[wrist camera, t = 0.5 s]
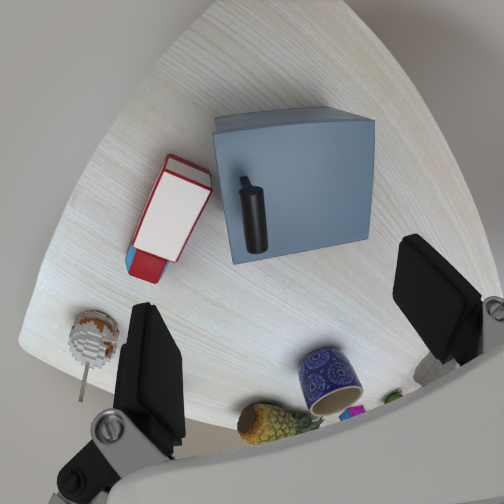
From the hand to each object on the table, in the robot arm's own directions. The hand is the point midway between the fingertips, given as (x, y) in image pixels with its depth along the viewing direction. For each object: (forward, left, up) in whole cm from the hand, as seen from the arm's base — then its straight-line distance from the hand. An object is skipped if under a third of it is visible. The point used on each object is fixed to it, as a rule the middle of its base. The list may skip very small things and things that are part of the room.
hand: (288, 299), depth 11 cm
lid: (+3, +6, -17) cm, 18 cm away
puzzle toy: (+79, +26, -27) cm, 88 cm away
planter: (+44, +13, -27) cm, 53 cm away
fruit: (+67, +5, -27) cm, 72 cm away
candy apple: (+24, -25, -27) cm, 44 cm away
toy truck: (+8, -8, -27) cm, 29 cm away
